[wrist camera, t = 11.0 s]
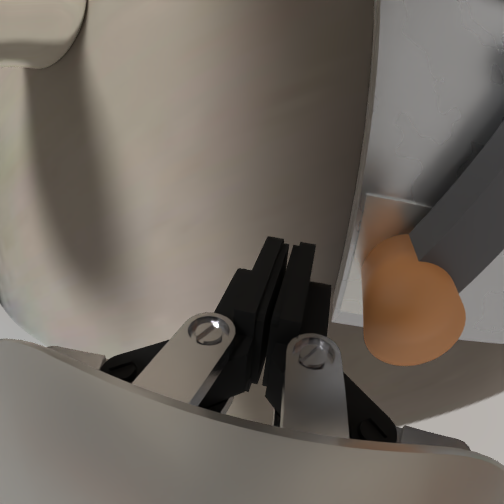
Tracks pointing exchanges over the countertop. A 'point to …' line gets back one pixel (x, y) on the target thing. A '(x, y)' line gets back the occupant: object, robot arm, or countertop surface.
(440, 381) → the countertop surface
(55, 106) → the countertop surface
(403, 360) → the breaker lever
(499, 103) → the panel
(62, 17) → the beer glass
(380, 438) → the robot arm
